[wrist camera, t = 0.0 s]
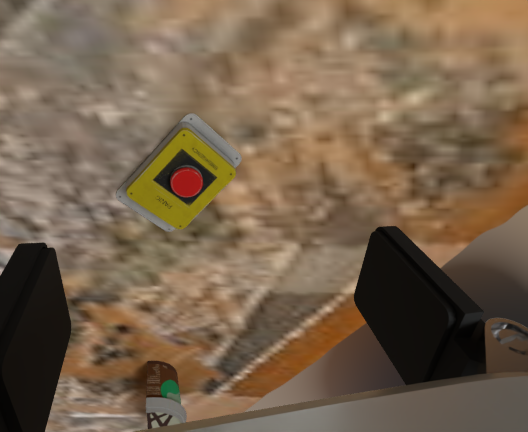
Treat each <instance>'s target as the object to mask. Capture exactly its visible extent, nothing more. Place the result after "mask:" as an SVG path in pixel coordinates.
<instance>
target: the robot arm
mask: <svg viewBox="0 0 528 432" xmlns="http://www.w3.org/2000/svg"><path fill="white" fill-rule="evenodd" d="M354 301H355V304H356V306H357V308H358V309H359V311H360V313H361V314H362V316H363V317H364V319H365V321H366V322H367V324H368V325H369V327H370V328H371V330H372V331H373V333H374V335H375V336H376V338H377V340H378V341H379V343H380V344H381V346H382V347H383V349H384V351H385V352H386V354H387V355H388V357H389V359H390V360H391V362H392V363H393V365H394V366H395V368H396V370H397V371H398V373H399V374H400V376H401V377H402V379H403V381H404V382H405V384H406V385H405V386H399V387H393V388H386V389H380V390H374V391H368V392H362V393H356V394H350V395H344V396H338V397H332V398H326V399H320V400H314V401H308V402H302V403H297V404H291V405H285V406H279V407H273V408H267V409H261V410H256V411H249V412H243V413H238V414H232V415H226V416H220V417H215V418H209V419H203V420H197V421H192V422H186V423H180V424H175V425H169V426H163V427H157V428H152V429H146V430H140V431H135V432H528V328H526V327H525V326H523V325H521V324H519V323H517V322H514V321H512V320H508V319H504V318H493V319H489V320H488V321H487V322H486V323H484V322H483V321H482V320H481V317H482V315H483V313H484V311H483V310H482V309H481V308H480V307H479V306H478V305H477V304H476V303H475V302H474V301H473V300H472V299H471V298H470V297H469V296H467V294H465V292H463V291H462V290H461V289H460V288H459V287H458V286H457V285H456V284H455V283H454V282H453V281H452V280H451V279H450V278H449V277H448V276H447V275H446V274H445V273H444V272H443V271H442V270H441V269H440V268H439V267H438V266H437V265H436V264H435V263H434V262H433V261H432V260H431V259H430V258H429V257H428V256H427V255H426V254H425V253H424V252H423V251H422V250H420V249H419V248H418V247H417V246H416V245H415V244H414V243H413V242H412V241H411V240H410V239H409V238H408V237H407V236H406V235H405V234H404V233H403V232H402V231H401V230H400V229H399V228H398V227H396V226H386V227H378V228H377V229H376V230H375V231H374V232H372V233H371V236H370V239H369V243H368V246H367V250H366V254H365V257H364V261H363V264H362V268H361V272H360V275H359V279H358V282H357V286H356V290H355V293H354ZM70 334H71V320H70V316H69V311H68V307H67V302H66V297H65V293H64V288H63V284H62V279H61V275H60V270H59V265H58V261H57V256H56V252H55V249H54V248H47V245H46V244H45V243H25V244H19V245H18V246H17V248H16V249H15V251H14V253H13V255H12V256H11V258H10V260H9V262H8V263H7V265H6V267H5V269H4V270H3V272H2V274H1V276H0V432H45V429H46V425H47V421H48V417H49V414H50V410H51V406H52V402H53V399H54V395H55V391H56V387H57V383H58V380H59V376H60V372H61V368H62V365H63V361H64V357H65V353H66V350H67V346H68V342H69V338H70Z"/></svg>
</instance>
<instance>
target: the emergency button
mask: <svg viewBox="0 0 528 432" xmlns="http://www.w3.org/2000/svg"><path fill="white" fill-rule="evenodd" d="M240 162H241V155H240V153H238V152H237V151H236V150H235V149H234V148H233V147H232V146H231V145H230V144H228V143H227V142H226V141H225V140H224V139H223V138H222V137H221V136H219V135H218V134H217V133H216V132H215V131H214V130H213V129H212V128H211V127H209V126H208V125H207V124H206V123H205V122H204V121H203V120H202V119H201V118H199V117H198V116H197V115H196V114H193V113H191V114H187V115H186V116H184V118H183V119H182V120H181V121H180V122H179V123H178V124H177V125H176V126H175V127H174V129H173V130H172V131H171V132H170V133H169V134H168V135H167V136H166V137H165V139H164V140H163V141H162V142H161V143H160V144H159V145H158V146H157V147H156V148H155V150H154V151H153V152H152V153H151V154H150V155H149V156H148V157H147V158H146V159H145V161H144V162H143V163H142V164H141V165H140V166H139V167H138V168H137V169H136V170H135V172H134V173H133V174H132V175H131V176H130V177H129V178H128V179H127V180H126V182H125V183H124V184H123V185H122V186H121V187H120V188H119V189H118V191H117V193H116V198H117V199H118V200H119V201H120V202H122V203H123V204H125V205H126V206H128V207H130V208H131V209H133V210H134V211H136V212H137V213H139V214H140V215H142V216H143V217H145V218H146V219H148V220H149V221H151V222H153V223H154V224H156V225H157V226H159V227H160V228H162V229H163V230H165V231H168V232H169V231H173V230H174V229H178V230H182V229H184V228H185V227H186V226H187V225H188V224H189V223H190V222H191V221H192V220H193V219H194V218H195V217H196V216H197V215H198V214H199V213H200V212H201V211H202V210H203V209H204V208H205V207H206V206H207V205H208V204H209V203H210V202H211V201H212V200H213V199H214V198H215V197H216V196H217V195H218V194H219V193H220V192H221V191H222V190H223V189H224V188H225V187H226V186H227V185H228V184H229V183H230V182H231V181H232V180H233V179H234V177H235V175H236V170H235V168H236V167H237V166H238V165H239V163H240Z"/></svg>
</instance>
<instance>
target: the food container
mask: <svg viewBox="0 0 528 432" xmlns="http://www.w3.org/2000/svg"><path fill="white" fill-rule="evenodd" d="M146 413H147V420H148V429H152V428H157V427H163V426H169V425H175V424H180V423H186V417H187V415H186V411H185V409H184V408H183V406H182V405H181V400H180V392H179V385H178V377H177V372H176V370H175V368H174V367H173V366H171V365H170V364H167V363H165V362H160V361H148V371H147V396H146Z"/></svg>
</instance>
